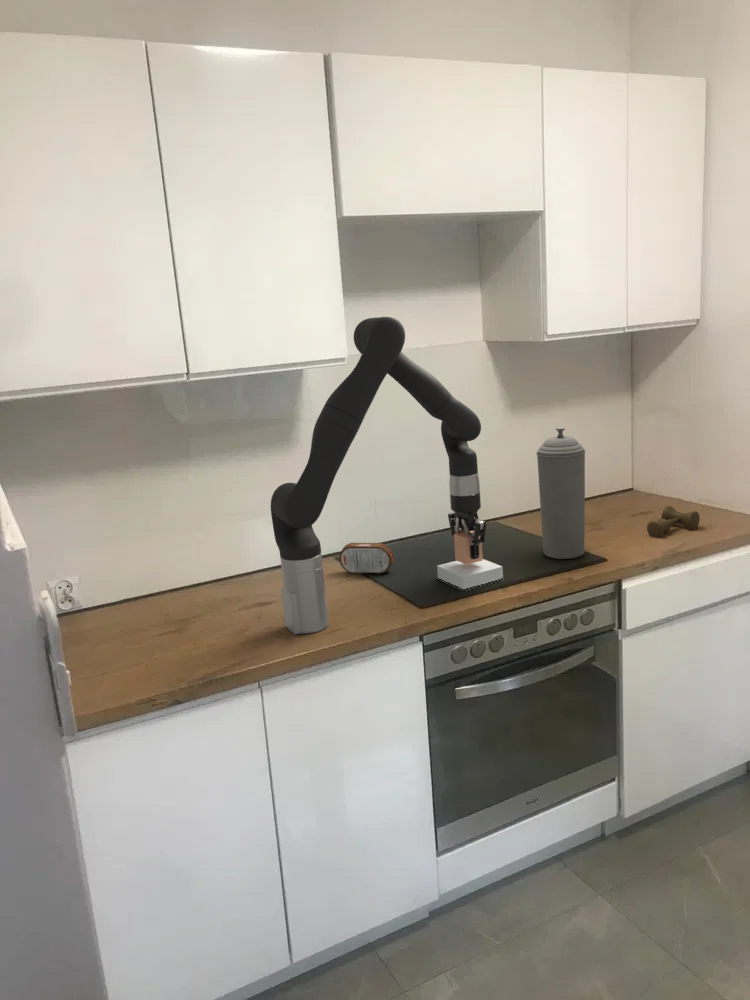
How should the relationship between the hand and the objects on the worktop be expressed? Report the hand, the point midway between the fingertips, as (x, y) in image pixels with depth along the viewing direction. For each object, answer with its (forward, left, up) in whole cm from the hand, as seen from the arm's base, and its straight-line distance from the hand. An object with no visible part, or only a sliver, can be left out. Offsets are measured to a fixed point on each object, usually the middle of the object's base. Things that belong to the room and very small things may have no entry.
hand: (468, 555), depth 200 cm
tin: (-18, +23, -7) cm, 30 cm away
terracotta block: (0, 0, -1) cm, 1 cm away
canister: (+31, 0, -7) cm, 32 cm away
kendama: (+69, -4, -7) cm, 69 cm away
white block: (0, 0, -7) cm, 7 cm away
